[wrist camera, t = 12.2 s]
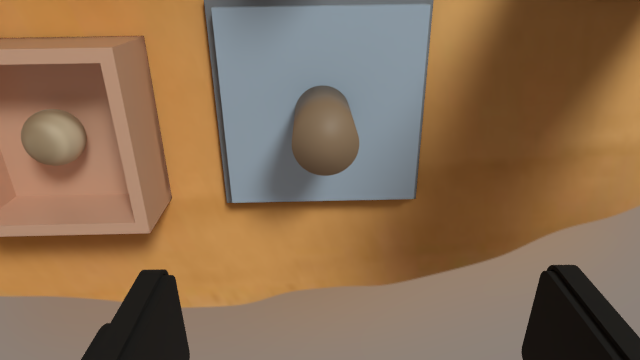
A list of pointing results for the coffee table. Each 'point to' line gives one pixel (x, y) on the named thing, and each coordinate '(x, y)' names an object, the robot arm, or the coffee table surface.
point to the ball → (53, 137)
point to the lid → (321, 99)
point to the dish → (102, 138)
